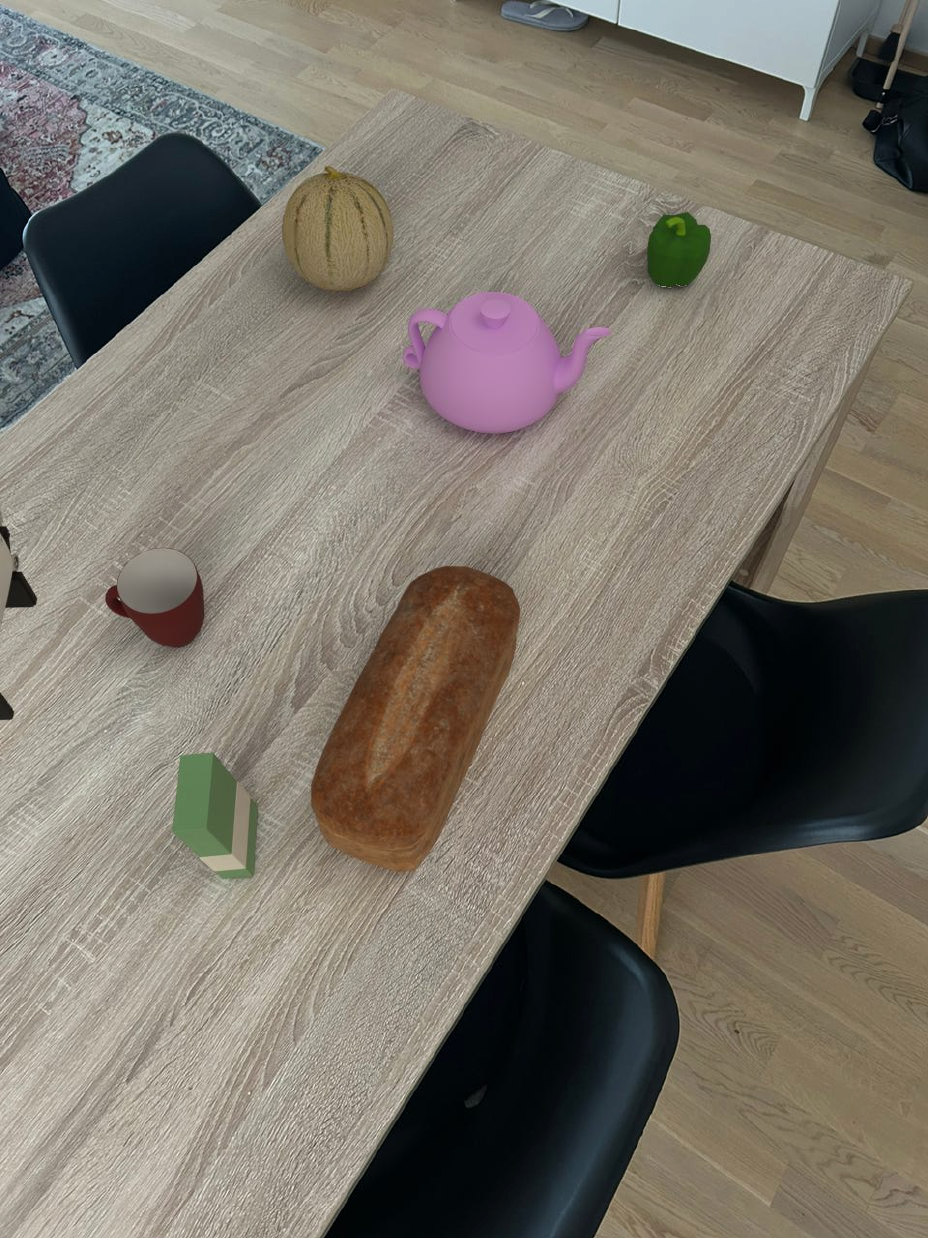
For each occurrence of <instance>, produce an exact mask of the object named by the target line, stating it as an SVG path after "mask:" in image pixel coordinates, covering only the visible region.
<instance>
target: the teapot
mask: <svg viewBox="0 0 928 1238" xmlns="http://www.w3.org/2000/svg"><path fill="white" fill-rule="evenodd" d="M419 323H428V324H432V325H434V326H435V327H434V329H433V330H432V331H431V334H430V335H429V337H428V340H427V342H426V344H425V342H424V339H423V337H422V333H421V330H420V327H419V325H420V324H419ZM611 333H612V330H611V328H609V327H603V326H599V327H598V326H595V327H590V328H586V329H584V330H582V331H581V332H580V333H579V334H578V335H577V336H576V338H575V340H574V343H573V347H572V350H571V353H569V354H568V355H565V356H562V355H561V351H560V347H559V345H558V343H557V341H556V337H555V335H554V334H553V332H552V330H551V329H550V327H549V325H548V324H547V323H546V321H545V320H544V318H543V317H542V316H541V315H540V314H539V312H538V311H537V310H536V309H535V308H534V307H533V306H532V304H530V303H529V302H527V301H526V300H524V299H523V298H521V297H519V296H516V295H514V294H511V293H507V292H501V291H483V292H478V293H474V294H472V295H468V296H467V297H465V298H462V300H460V301H459V302H458V303H457V304H455V305H454V306H453V307H452V308H450V310H449V311H448V312H447V313H445V312H443V311H442V310H440V309H436V308H434V307H433V308H432V307H424V308H420V309H417V310H416V311H415V312H413V313H412V314H411V316H410V317H409V320H408V323H407V334H408V337H409V341H410V344H409V345H407V346H406V347H405V348H404V350H403V351H402V361H403V363H404V364H405V365H406V366H407V367H408V368H410V369H412V370H414V371H415V370H416V371H417V370H419V381H420V384H419V385H420V388H421V391H422V394H423V396H424V398H425V399H426V401H427V403H428V404H429V405H430V407H431V408H432V410H434V411H435V412H436V414H438V415H439V416H440V417H441V418H442V419H444V420H446V421H448V422H449V423H451V424H453V425H455V426H457V427H459V428H461V429H464V430H467V431H469V432H473V431H474V432H473V433H477V434H478V433H479V434H485V435H498V434H500V433H501V434H506V433H512V432H515V431H516V432H517V431H519V430H522V429H524V428H526V427H529V426H531V425H533V424H535V423H536V422H538V421H539V420H541V419H542V418H544V417H545V416H546V415H547V414H548V413H549V412H550V411H551V409H552V408H553V407H554V405H555V404H556V402H557V401H558V399H559V397H560V394H563V393H564V392H567V391H569V390H570V389H572V388H574V387H575V386H576V384H577V383H578V382H579V381H580V379H581V377H582V376H583V373H584V371H585V369H586V364H587V359H588V354H589V351H590V348H591V347H592V345H593V344H594V343H595V342H596V341H599V340H600V339H602V338H605V337H608V336H609V335H610V334H611Z"/></svg>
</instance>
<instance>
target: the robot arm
mask: <svg viewBox="0 0 928 1238" xmlns="http://www.w3.org/2000/svg"><path fill="white" fill-rule="evenodd" d="M3 522H4V519H3V515H2V511H1V510H0V629H1V628H2V624H3V618H4V615H5V610H6V609H21V608H23V609H24V608H34V607H35V606H36V605H37V604H38V603H37V602H38V597H37V595H36V593H35V592H34V590H33V588H32V587H31V584H30V582H28V579H27V578H26V576H25V574H24V573H23V571H22V570H20V571H18V570H19V569H20V558H19V555H18V554H17V553H16V554H12V550H11V541H10V538H11V532H10V530H9V529H8V526H6V525H3ZM14 716H15V710H14V708H13V707H12V705H10V703H9V701H8V700H7V699H6V698H5V696H4V695H3V694H2V693H1V692H0V721H11V720H14Z"/></svg>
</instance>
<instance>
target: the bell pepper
mask: <svg viewBox="0 0 928 1238" xmlns="http://www.w3.org/2000/svg"><path fill="white" fill-rule="evenodd" d="M711 243H712V234H711V229H710V228H709V227H708V226H707V225H706V224H698V221H697V219H696V218H695V217H694V216H693V215H692V214H691V213H689V212H688V211H684V212H681V213H677V214H662V215H661V217H660V218H659V219H658V220H657V222H656V223H655V225H654V226H653V228H652V231H651V232H650V234H649V236H648V242H647V246H646V247H647V248H646V249H647V250H646V251H647V252H646V258H647V259H646V262H647V272H648V276H649V277H650V279H651V278H652V279H651V281H654V282H655V283H656V284H658V285H660V286H666V287H672V288H674V287H675V286H674V285H676V284H677V285H680V286H685V285H687V286H689V285H690V284H691V283H693V281H695V280H696V279H697V278H698V276H699V274H700V273H701V272H702V269H703V268H704V266H705V265H706V264H707V262H708V258H709V255H710V251H711ZM654 282H653V283H654ZM655 283H654V284H655ZM656 284H655V285H656ZM688 284H689V285H688ZM658 285H657V286H658ZM673 286H674V287H673Z"/></svg>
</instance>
